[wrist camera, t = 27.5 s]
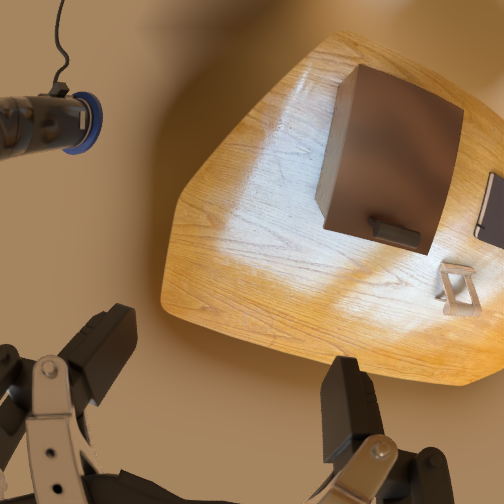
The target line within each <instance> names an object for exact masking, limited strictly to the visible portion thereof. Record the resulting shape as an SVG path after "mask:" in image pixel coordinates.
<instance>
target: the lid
mask: <svg viewBox="0 0 504 504" xmlns="http://www.w3.org/2000/svg"><path fill="white" fill-rule="evenodd" d="M463 114H464V110H463V109H461V108H459V107H458V106H456V105H454V104H452V103H450V102H449V101H447V100H445V99H443V98H441V97H439V96H437V95H435V94H433V93H431V92H429V91H427V90H425V89H423V88H420V87H418V86H416V85H414V84H411V83H409V82H407V81H404V80H402V79H400V78H397V77H395V76H392V75H389V74H387V73H384V72H381V71H379V70H376V69H373V68H370V67H367V66H364V65H361V64H359V65H358V66H357V72H356V78H355V84H354V90H353V95H352V101H351V106H350V112H349V117H348V122H347V127H346V132H345V137H344V141H343V146H342V151H341V155H340V160H339V164H338V168H337V173H336V177H335V181H334V185H333V189H332V193H331V197H330V201H329V205H328V209H327V213H326V217H325V221H324V224H323V228H324V229H326V230H330V231H334V232H339V233H343V234H347V235H351V236H355V237H359V238H363V239H367V240H371V241H375V242H379V243H383V244H386V245H390V246H394V247H398V248H401V249H405V250H409V251H413V252H416V253H420V254H423V255H428V253H429V250H430V247H431V244H432V242H433V239H434V236H435V233H436V230H437V227H438V224H439V221H440V218H441V215H442V212H443V208H444V205H445V201H446V198H447V194H448V191H449V187H450V183H451V179H452V175H453V170H454V166H455V161H456V157H457V152H458V146H459V141H460V135H461V129H462V122H463Z"/></svg>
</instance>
